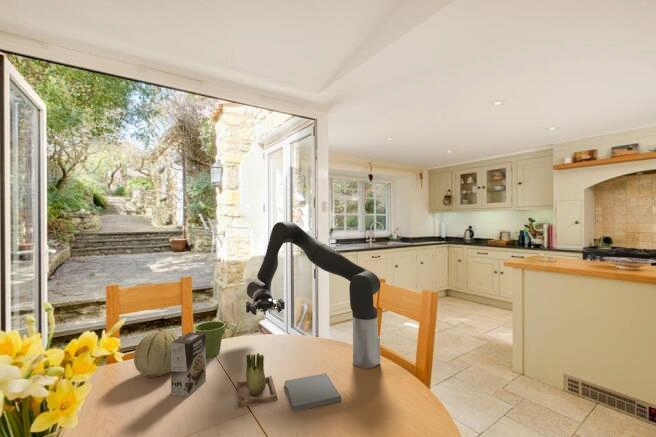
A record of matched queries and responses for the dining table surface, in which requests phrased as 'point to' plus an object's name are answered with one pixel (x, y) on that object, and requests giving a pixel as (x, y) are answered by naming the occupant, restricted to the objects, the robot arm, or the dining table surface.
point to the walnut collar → (259, 399)
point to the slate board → (311, 391)
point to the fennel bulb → (255, 374)
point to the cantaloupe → (154, 354)
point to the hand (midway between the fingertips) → (267, 311)
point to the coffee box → (188, 363)
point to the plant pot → (211, 336)
